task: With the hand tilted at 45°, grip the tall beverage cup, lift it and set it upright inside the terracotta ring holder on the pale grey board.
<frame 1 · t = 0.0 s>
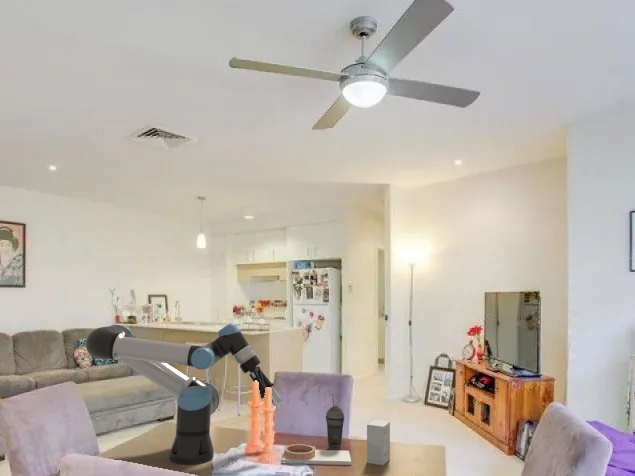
hand: (277, 406, 186), 15 cm above the table, tool tilted 35°, fingers open, 13 cm apart
pale grey board: (316, 458, 173), on the table
beverage cup: (334, 449, 185), on the table
small box: (378, 461, 172), on the table
terracotta ring holder: (299, 458, 173), resting on pale grey board
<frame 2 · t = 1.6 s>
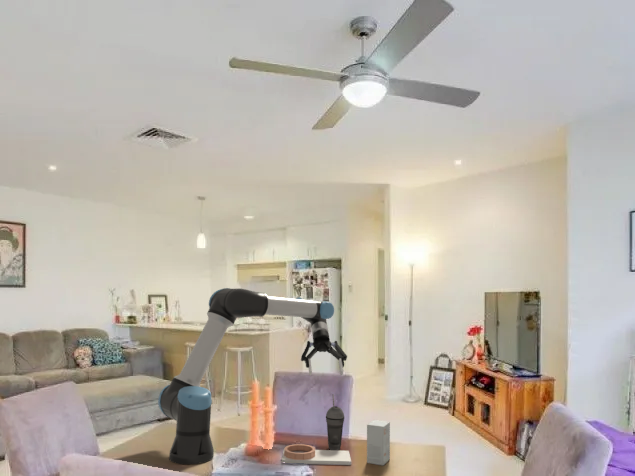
hand: (326, 373, 206), 25 cm above the table, tool tilted 45°, fingers open, 13 cm apart
nothing on the table moved.
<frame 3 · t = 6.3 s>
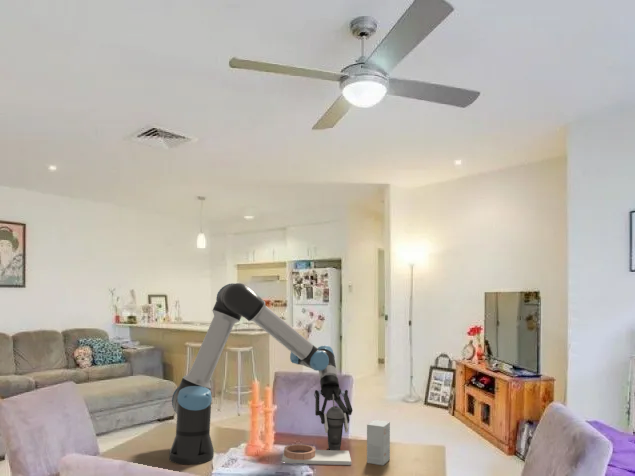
hand: (336, 430, 183), 8 cm above the table, tool tilted 45°, fingers closed on beverage cup, 7 cm apart
beverage cup: (334, 449, 185), on the table, touching gripper
everything else where it was.
when the fingers open (10 cm above the table, at t = 11.6 s): beverage cup drops 1 cm, resting on terracotta ring holder.
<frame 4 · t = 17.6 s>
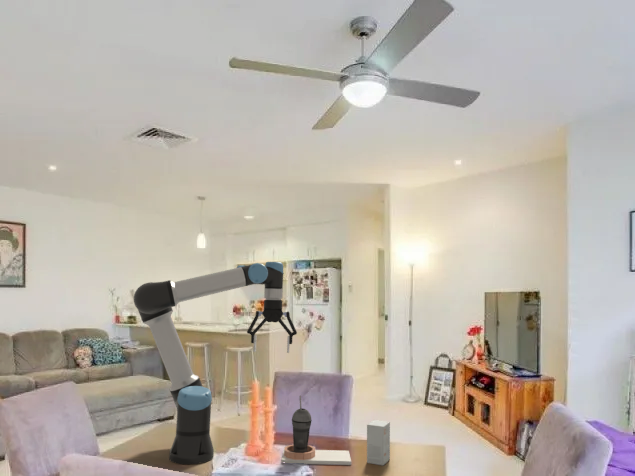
hand: (271, 352, 197), 35 cm above the table, tool pointing down, fingers open, 13 cm apart
beverage cup: (300, 454, 173), point 1 cm above the table, touching terracotta ring holder
everything else where it was.
at the end: beverage cup 0.2 cm from the terracotta ring holder (horizontally); beverage cup tilted 1°; the gripper is holding nothing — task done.
